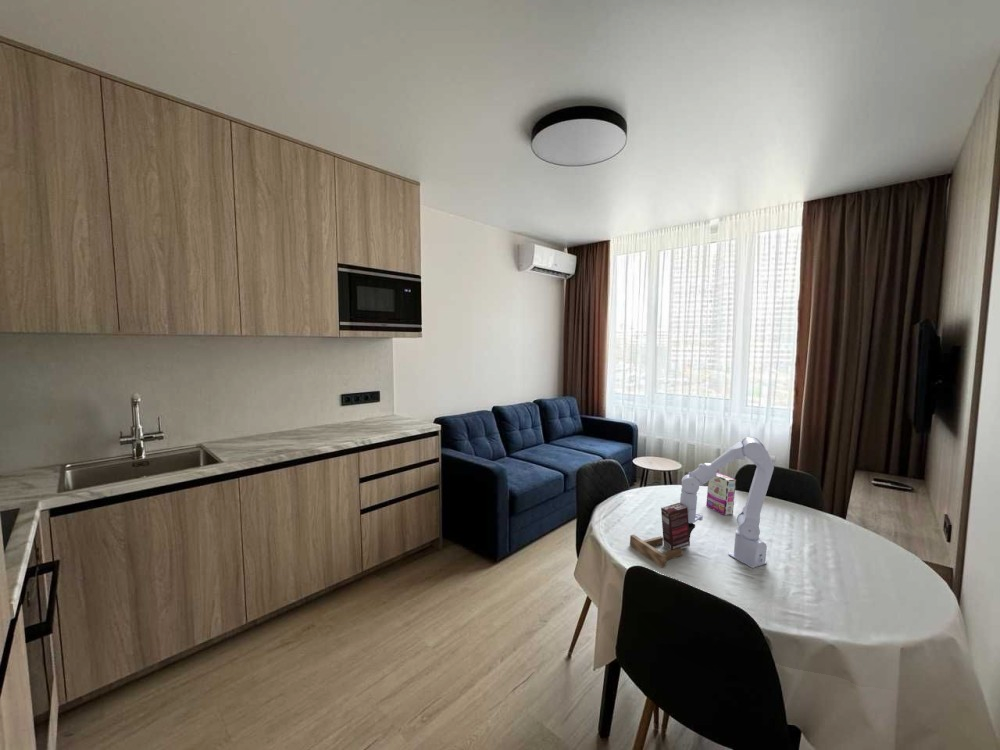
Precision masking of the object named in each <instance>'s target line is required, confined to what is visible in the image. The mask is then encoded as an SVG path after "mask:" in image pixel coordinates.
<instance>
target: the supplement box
mask: <svg viewBox="0 0 1000 750" xmlns="http://www.w3.org/2000/svg"><path fill="white" fill-rule="evenodd" d="M660 511H661V514H660V515H661V523H662V524H661V526H662V527H661V528H662V537H663V547H664V548H665V549H667V551H670V550H674V549H678V548H681V549H682V550H683V549H686V548H690V546H691V541H690V540H691V536H690V537H689V523H688V508H687V507H686V506H684V505H682V504H681V503H680V502H676V503H674V504H670V505H667V506H663V507H660Z"/></svg>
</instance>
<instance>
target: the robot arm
mask: <svg viewBox="0 0 1000 750" xmlns="http://www.w3.org/2000/svg"><path fill="white" fill-rule="evenodd" d="M746 458H747V459H749V460H750V461H752V462H753V463H754V465H755V466H756V468H755V471H754V475H753V478H752V482H751V484H750V488H749V492H748V494H747V498H746V502H745V505H744V506H743V507H742V510H741V512H740V513H738V515H737V516H736V522H737V524H738V527H737V529H736V530H735V538H734V547H733V551H732V552H731V551H730V552H728V553H727V555H728V556H730V557H731V558H733V559H735V560H737V561H739V562H740V563H742V564H744V565H745V566H748V567H749V568H752V569H753V568H756V567H759V566H763V565H765V564H767V561H766V560H767V559H766V557H767V547H768V546H767V543H765V542H764V541H763V540H761V538H760V533H761V531H760V530H761V529H760V522H761V520H760V519H761V512H762V509H763V505H764V502H765V498H766V495H767V491H768V489H769V486H770V483H771V479H772V477H773V476H772V475H773V473H774V469H775V466H774V464H773V461H772V458H771V456H770V454H769V452H768V450H767V449H766V447H765V445H764V444H763V443H762V442H761V441H760V439H758V438H756V437H754V436H747V437H744V438H743V439H742V440H740V441H737V442H736V443H735V444H733V445H732V446H731V447H730V448H728V449H727V450H725V451H724V452H723V453H722V454H721V455H720V456H718V457H716V458H715V459H714V460H712V461H711V462H704V463H699V464H698V467H697V468H695V469H694V470H693V471H689V472H688V473H687V474H685V475H684V476H683V477H682V478H681V492H680V497H679V498H680V499H679V503H681V504H682V505H684V506H686V507H687V508H688V523H689V537H690V538H691V534H692V532H693V530H694V529H695V528H696V524H695V523H696V522H697V521H703V515H702V514H700V513H697V504H698V503H697V502H698V495H697V494H698V492H699V489H700V487H701V486H703V485H705V484H706V483H708V481H709V480H711V479H712V478H714V477H715V476H716V475H717V472H718V470H721V469H722V468H723V467H725V466H727V465H729V464H730V463H732V462H733V461H735V460H743V461H746Z"/></svg>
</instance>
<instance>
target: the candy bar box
mask: <svg viewBox="0 0 1000 750" xmlns="http://www.w3.org/2000/svg"><path fill="white" fill-rule="evenodd" d="M736 485H737V479H735V478H732V477H730V476H727V475H725V474H723V473H721V472H718V471H717V475H716V476H715V477H714V478H712V479H711V480H709V481H708V482H707V493H706V494H707V495H706V505H705V506H707V507H708V508H710V509H712V510H713V511H715V512H716V513H719V514H721V515H724V516H730V515H732V516H733V514H734V505H735V496H736V495H735V494H736Z"/></svg>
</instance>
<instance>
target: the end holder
mask: <svg viewBox="0 0 1000 750" xmlns="http://www.w3.org/2000/svg"><path fill="white" fill-rule="evenodd" d="M659 545H664V543H663V536H656V537H652V538H648V539H645V540H643V539H641V538H640V537H638V536H637V535H635V534H630V536H629V546H630V547H632V548H633V549H635V550H636V551H638V552H639V553H640V554H642V555H643V556H644V557H646V558H648V559H649V560H651V561H652V562H653V563H655V564H656V565H658V567H660V566H661V568H666V567H667V566H666V565H667V561H670V560H672V559H677V558H679V557H680V558H681V557H682V556H683V549H681V548H678V549H674V550H670V551H669V550H667V551H664V552H661V551H660V550H658V549H657V548H656V547H655V546H659Z"/></svg>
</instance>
